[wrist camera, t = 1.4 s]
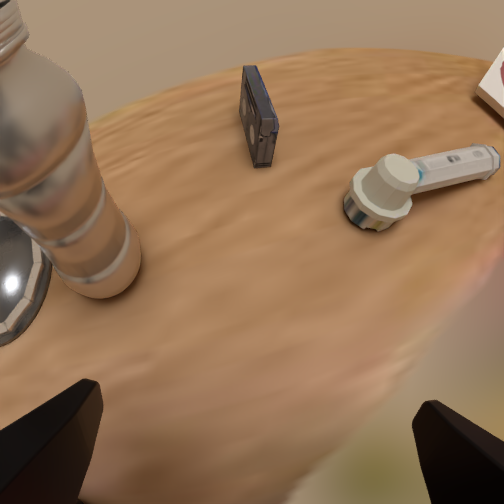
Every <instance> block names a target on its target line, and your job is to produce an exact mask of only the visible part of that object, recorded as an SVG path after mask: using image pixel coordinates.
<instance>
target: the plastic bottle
mask: <svg viewBox="0 0 504 504" xmlns="http://www.w3.org/2000/svg"><path fill="white" fill-rule="evenodd" d="M28 37H29V32H28V29H27V25H26V24H25V23H23V21H22V18H21V14H20V11H19V7H18V3H17V1H16V0H0V211H1V212H2V213H3V214H5V215H6V216H7V217H9V218H10V219H11V220H12V221H13V222H14V223H16V224H17V225H18V226H19V227H20V228H21V229H22V230H23V231H24V232H25V233H26V234H28V235H29V236H30V237H31V238H32V239H33V240H34V241H35V242H36V243H37V244H38V246H39V247H40V248H41V250H42V251H43V252H44V253H45V255H46V256H47V257H48V259H49V260H50V261H51V262H52V264H53V266H54V268H55V270H56V271H57V273H58V274H59V276H60V277H61V278H62V280H63V281H64V282H65V284H66V285H67V286H68V287H70V288H71V289H72V290H74V291H75V292H77V293H79V294H82V295H84V296H87V297H91V298H96V299H103V298H109V297H112V296H115V295H117V294H119V293H120V292H122V291H124V290H125V289H126V288H127V287H128V286H129V285H130V284H131V283H132V281H133V280H134V279H135V277H136V275H137V273H138V270H139V267H140V263H141V251H140V242H139V237H138V234H137V231H136V230H135V228H134V226H133V225H132V223H131V222H130V221H129V219H128V218H127V216H126V215H125V214H124V213H123V212H122V211H121V210H120V209H119V208H118V207H117V205H116V204H115V202H114V200H113V199H112V197H111V195H110V194H109V192H108V190H107V189H106V187H105V184H104V181H103V179H102V177H101V174H100V170H99V167H98V164H97V161H96V158H95V155H94V152H93V147H92V142H91V137H90V131H89V126H88V120H87V113H86V107H85V102H84V99H83V94H82V90H81V89H80V87H79V85H78V84H77V82H76V81H75V80H74V78H73V77H72V76H71V74H70V73H69V72H68V71H67V70H65V69H64V68H62V67H61V66H59V65H58V64H56V63H55V62H53V61H52V60H50V59H48V58H47V57H45V56H42V55H40V54H38V53H36V52H34V51H32V50H29V49H27V47H26V45H25V44H24V43H25V42H26V40H27V39H28Z"/></svg>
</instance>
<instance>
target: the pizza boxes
mask: <svg viewBox="0 0 504 504" xmlns="http://www.w3.org/2000/svg"><path fill="white" fill-rule="evenodd" d="M475 93H476V94H477V95H478V96H479V97H481V98H482V99H483V100H484V101H485V102H486V103H487V104H489V105H490V106H491V107H492V108H493V109H494V110H495V111H496V112H497V113H498V114H500V115H501V116H502V117H503V118H504V47H503V49H502V51H501V52H500V54H499V55H498V57H497V58H496V60H495V61H494V63H493V64H492V66H491V67H490V69H489V70H488V72H487V73H486V75H485V76H484V78H483V79H482V81H481V82H480V84H479V85H478V87H477V89H476V91H475Z"/></svg>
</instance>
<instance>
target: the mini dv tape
mask: <svg viewBox="0 0 504 504" xmlns="http://www.w3.org/2000/svg"><path fill="white" fill-rule="evenodd" d="M239 112H240V116H241V120H242V124H243V127H244V131H245V135H246V139H247V142H248V146H249V150H250V154H251V158H252V162H253V165H254V168H262V167H271V163H272V159H273V154H274V149H275V144H276V139H277V134H278V130H279V123H278V118H277V116H276V113H275V111H274V108H273V105H272V103H271V100H270V98H269V95H268V93H267V90H266V88H265V85H264V83H263V80H262V78H261V76H260V73H259V71H258V68H257V66H243V74H242V85H241V96H240V108H239Z"/></svg>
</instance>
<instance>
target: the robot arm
mask: <svg viewBox="0 0 504 504" xmlns="http://www.w3.org/2000/svg"><path fill="white" fill-rule="evenodd" d="M102 413H103V399H102V394H101V389H100V385H99V383H98V382H97V381H94V380H90V379H82V380H80V381H78V382H77V383H75V384H74V385H72V386H71V387H69V388H67V389H66V390H64V391H63V392H61V393H59V394H58V395H56V396H55V397H53V398H52V399H50V400H48V401H47V402H45V403H44V404H42V405H40V406H39V407H37V408H36V409H34V410H32V411H31V412H29V413H28V414H26V415H24V416H23V417H21V418H20V419H18V420H16V421H15V422H13V423H11V424H10V425H8V426H7V427H5V428H3V429H2V430H0V504H84V503H83V502H82V501H80V500H78V499H77V498H78V495H79V492H80V490H81V487H82V484H83V481H84V478H85V475H86V472H87V470H88V467H89V464H90V461H91V458H92V454H93V450H94V445H95V441H96V437H97V433H98V429H99V425H100V421H101V417H102ZM412 429H413V433H414V438H415V442H416V447H417V452H418V457H419V462H420V466H421V470H422V473H423V477H424V480H425V483H426V486H427V490H428V493H429V497H430V500H431V504H504V441H502V440H500V439H499V438H497V437H495V436H493V435H492V434H491V433H489V432H487V431H486V430H484V429H482V428H481V427H479V426H478V425H476V424H474V423H473V422H471V421H470V420H468V419H466V418H465V417H463V416H462V415H460V414H458V413H457V412H455V411H453V410H452V409H450V408H449V407H447V406H446V405H444V404H442V403H441V402H439V401H438V400H429V401H425V402H424V403H423V404H422V405H421V407H420V409H419V410H418V412H417V414H416V416H415V417H414V419H413V421H412Z"/></svg>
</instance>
